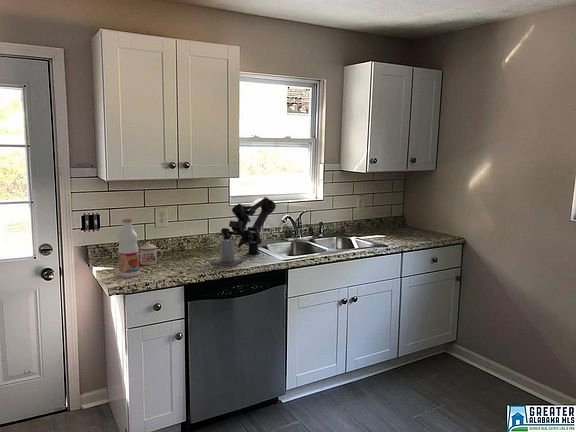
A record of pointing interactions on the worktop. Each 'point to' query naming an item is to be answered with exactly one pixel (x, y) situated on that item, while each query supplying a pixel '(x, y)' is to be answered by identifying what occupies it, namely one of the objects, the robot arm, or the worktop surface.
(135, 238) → the fruit juice
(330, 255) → the worktop surface
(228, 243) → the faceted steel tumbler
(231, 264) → the rubber mat
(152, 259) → the teacup with lid
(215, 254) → the worktop surface
